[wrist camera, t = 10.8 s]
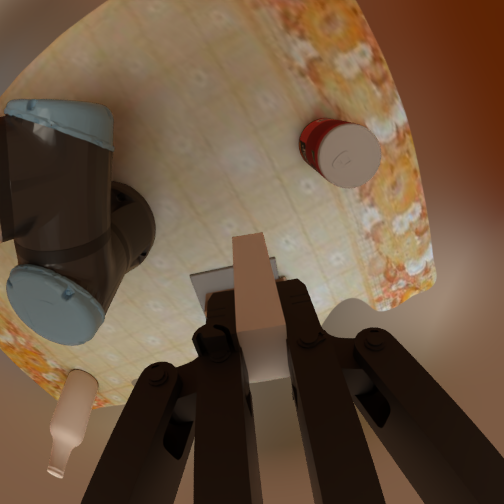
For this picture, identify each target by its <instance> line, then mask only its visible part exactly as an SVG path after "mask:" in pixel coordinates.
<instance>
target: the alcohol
mask: <svg viewBox="0 0 504 504" xmlns="http://www.w3.org/2000/svg"><path fill="white" fill-rule="evenodd" d="M97 390H98V384H97V381H96V380H95V378H94V377H93V376H91V375H90V374H88V373H86V372H84V371H81V370H73V371H71V372H70V373H69V375H68V378H67V380H66V383H65V385H64V387H63V390H62V393H61V395H60V398H59V400H58V403H57V406H56V409H55V411H54V414H53V417H52V420H51V423H50V432H51V434H52V437H53V446H52V451H51V456H50V461H49V465H48V469H47V471H48V472H49V473H50V474H52V475H54V476H56V477H58V478H63V474H64V470H65V467H66V464H67V461H68V458H69V455H70V453H71V450H72V449H73V448H74V447H76V446H78V445H79V444H80V443H81V442H82V440H83V437H84V434H85V430H86V427H87V423H88V419H89V416H90V412H91V409H92V406H93V403H94V400H95V396H96V393H97Z"/></svg>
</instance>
